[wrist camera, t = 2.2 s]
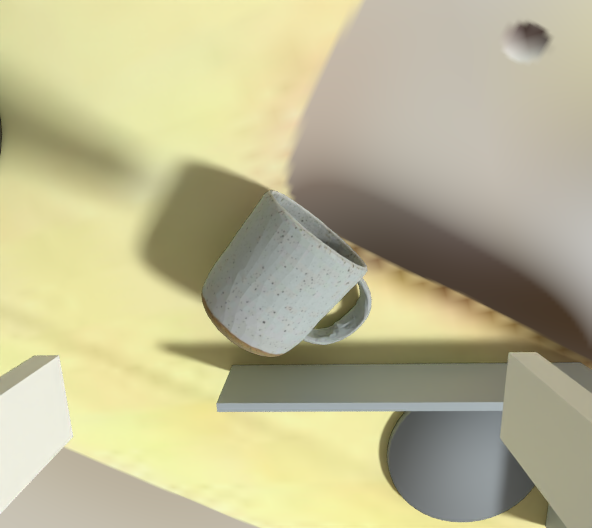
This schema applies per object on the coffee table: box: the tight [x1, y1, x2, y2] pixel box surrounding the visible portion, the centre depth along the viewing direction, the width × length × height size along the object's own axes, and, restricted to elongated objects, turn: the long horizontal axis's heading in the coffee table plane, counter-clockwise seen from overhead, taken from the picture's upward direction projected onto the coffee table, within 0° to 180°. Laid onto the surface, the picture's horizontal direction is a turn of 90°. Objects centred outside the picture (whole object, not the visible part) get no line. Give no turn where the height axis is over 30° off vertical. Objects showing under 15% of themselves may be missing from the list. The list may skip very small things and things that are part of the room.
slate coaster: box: [387, 411, 535, 522], centre depth 29 cm, size 12×12×1 cm
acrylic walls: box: [217, 362, 592, 528], centre depth 27 cm, size 26×15×5 cm, turn 92°
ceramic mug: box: [202, 190, 371, 357], centre depth 23 cm, size 11×8×8 cm
